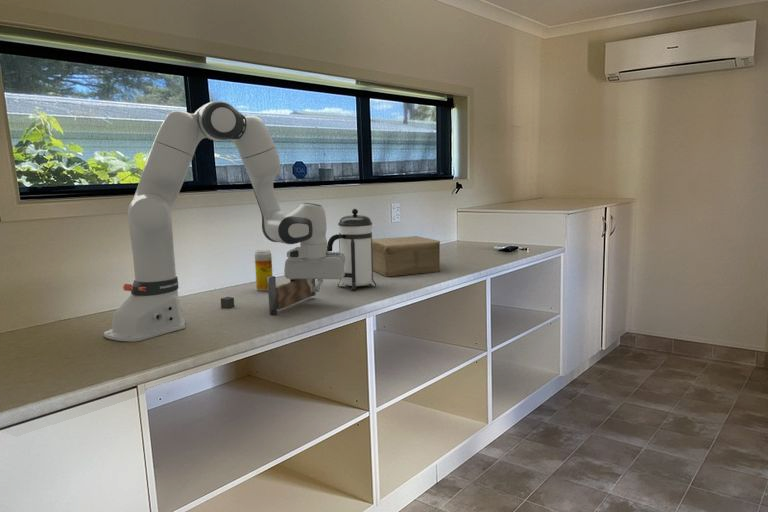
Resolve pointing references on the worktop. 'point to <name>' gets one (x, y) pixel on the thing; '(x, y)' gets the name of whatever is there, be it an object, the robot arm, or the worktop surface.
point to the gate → (293, 292)
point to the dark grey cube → (227, 302)
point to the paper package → (405, 255)
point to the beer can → (263, 269)
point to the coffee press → (355, 249)
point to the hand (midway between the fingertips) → (315, 291)
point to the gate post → (272, 295)
